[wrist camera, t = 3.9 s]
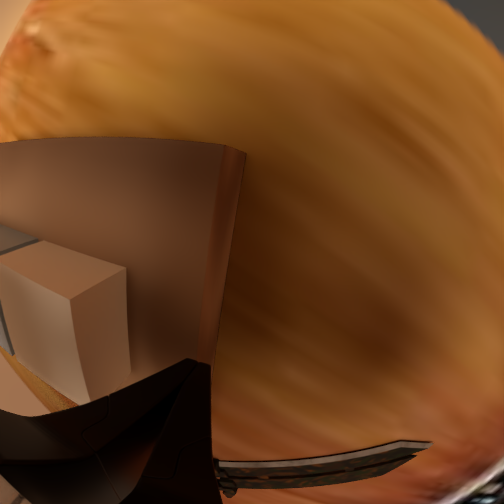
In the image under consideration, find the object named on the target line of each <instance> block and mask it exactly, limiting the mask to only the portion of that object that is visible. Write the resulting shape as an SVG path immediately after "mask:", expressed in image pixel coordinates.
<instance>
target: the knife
mask: <svg viewBox="0 0 504 504" xmlns="http://www.w3.org/2000/svg"><path fill="white" fill-rule="evenodd" d="M432 444H433V443H416V442H402V441H400V442H397V443H393V444H389V445H385V446H381V447H377V448H373V449H368V450H364V451H359V452H354V453H348V454H343V455H336V456H330V457H323V458H315V459H306V460H295V461H280V462H220V461H219V459H213V463H214V469H215V474H216V477H220V480H219V479H217V483H218V487H219V490H222V491H223V494H224V495H225V496H226V497H227V498H231V497H233V496H234V495H235V494H236V492H237V489H238V488H248V489H284V488H302V487H314V486H324V485H332V484H339V483H346V482H352V481H358V480H363V479H368V478H373V477H377V476H381V475H384V474H386V473H388V472H390V471H391V470H393V469H395V468H397V467H399V466H400V465H402V464H404V463H406V462H407V461H409V460H411V459H412V458H414V457H416V456H417V455H411V454H413V453H416V452H419V451H422V450H425V449H428V448H429V447H430V446H431V445H432ZM406 455H407V456H406ZM399 457H400V458H399ZM392 459H393V460H392ZM388 460H389V461H388ZM384 461H385V462H384ZM380 462H381V463H380ZM375 463H376V464H375ZM371 464H372V465H371ZM366 465H367V466H366ZM361 466H362V467H361ZM356 467H357V468H356ZM339 470H340V471H339ZM332 471H333V472H332ZM324 472H326V473H324ZM315 473H317V474H315ZM305 474H307V475H305ZM292 475H295V476H292ZM243 476H252V477H243ZM269 476H274V477H269Z"/></svg>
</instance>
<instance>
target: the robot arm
mask: <svg viewBox="0 0 504 504" xmlns="http://www.w3.org/2000/svg"><path fill="white" fill-rule="evenodd" d="M211 437H212V433H211V365H210V364H206V363H203V362H198V361H197V360H194V359H191V358H185V359H183V360H181V361H179V362H177V363H175V364H173V365H171V366H169V367H167V368H165V369H163V370H161V371H159V372H157V373H155V374H153V375H151V376H148V377H146V378H144V379H142V380H140V381H138V382H135V383H133V384H131V385H129V386H127V387H124V388H122V389H120V390H118V391H115V392H113V393H111V394H109V396H108V395H106V396H104V397H101V398H99V399H96V400H94V401H91V402H89V403H86V404H83V405H80V406H76V407H73V408H69V409H66V410H62V411H58V412H54V413H50V414H45V415H41V416H33V417H27V416H21V415H17V414H13V413H10V412H6V411H4V410H1V409H0V504H223V502H222V499H221V495H220V491H219V487H218V483H217V479H216V474H215V469H214V463H213V454H212V438H211Z"/></svg>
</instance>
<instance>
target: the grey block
mask: <svg viewBox="0 0 504 504" xmlns="http://www.w3.org/2000/svg"><path fill="white" fill-rule="evenodd" d="M37 242H38V238H36V237H33V236H30V235H28V234H25V233H22V232H20V231H17V230H14V229H12V228H9V227H7V226H4V225H1V224H0V256H1V255H4V254H6V253H9V252H12V251H14V250H17V249H20V248H23V247H26V246H29V245H32V244H35V243H37ZM0 346H1V347H3V348H4V349H5V350H6V351H7V352H8V353H9V354H10V355H12V356H13V355H14V354H15V352H14V349H13V346H12V342H11V339H10V336H9V332H8V329H7V325H6V321H5V318H4V313H3V309H2V305H1V300H0Z"/></svg>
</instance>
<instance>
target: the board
mask: <svg viewBox="0 0 504 504" xmlns="http://www.w3.org/2000/svg"><path fill="white" fill-rule="evenodd" d="M245 157H246V153H244V152H242V151H239V150H237V149H234V148H231V147H229V146H226V145H221V144H213V143H204V142H194V141H183V140H170V139H155V138H134V137H68V138H48V139H34V140H23V141H13V142H5V143H0V224H1V225H4V226H7V227H9V228H12V229H14V230H17V231H20V232H22V233H25V234H28V235H30V236H33V237H36V238H38V242H40V241H43V240H44V241H47V242H50V243H53V244H56V245H58V246H61V247H64V248H67V249H70V250H73V251H76V252H79V253H82V254H85V255H88V256H91V257H94V258H97V259H101V260H104V261H107V262H110V263H113V264H116V265H120V266H123V267H126V298H127V325H128V341H129V354H130V365H131V373H130V374H129V375H128V376H127V377H126V379H125V380H124V381H123V382H122V383H121V384H120V385H119V387H118V388H117V389H116V390H115V391H118V390H120V389H122V388H124V387H127V386H129V385H131V384H133V383H135V382H138V381H140V380H142V379H144V378H146V377H148V376H151V375H153V374H155V373H157V372H159V371H161V370H163V369H165V368H167V367H169V366H171V365H173V364H175V363H177V362H179V361H181V360H183V359H185V358H191V359H194V360H197V361H198V362H203V363H206V364H210V365H211V382H212V375H213V367H214V359H215V352H216V344H217V337H218V330H219V322H220V315H221V308H222V301H223V294H224V288H225V281H226V274H227V268H228V261H229V255H230V248H231V242H232V235H233V229H234V223H235V217H236V210H237V204H238V198H239V192H240V186H241V181H242V175H243V169H244V163H245ZM115 391H114V392H115Z"/></svg>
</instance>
